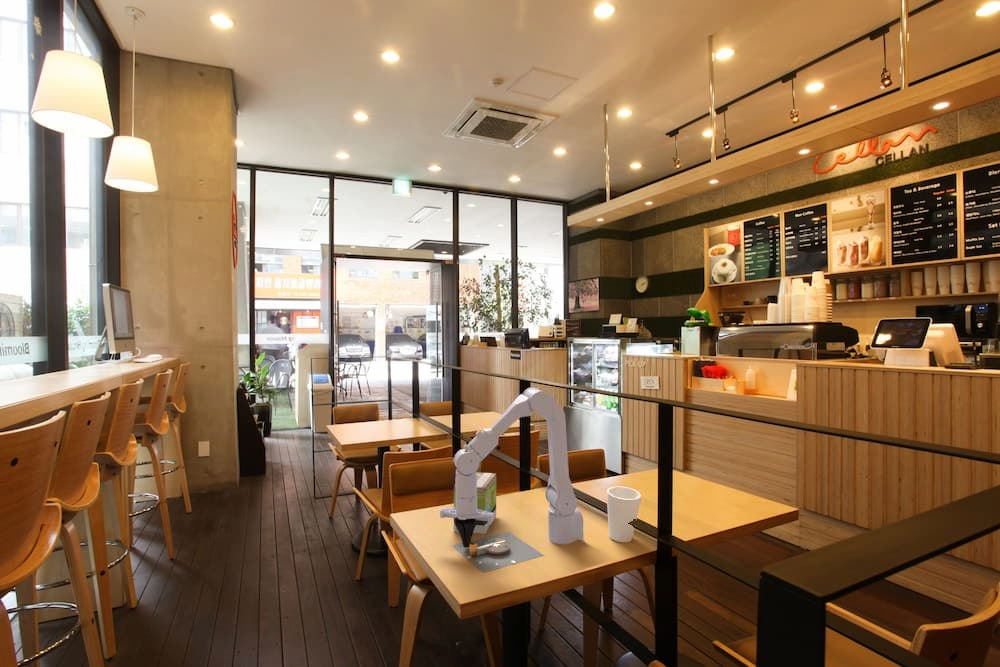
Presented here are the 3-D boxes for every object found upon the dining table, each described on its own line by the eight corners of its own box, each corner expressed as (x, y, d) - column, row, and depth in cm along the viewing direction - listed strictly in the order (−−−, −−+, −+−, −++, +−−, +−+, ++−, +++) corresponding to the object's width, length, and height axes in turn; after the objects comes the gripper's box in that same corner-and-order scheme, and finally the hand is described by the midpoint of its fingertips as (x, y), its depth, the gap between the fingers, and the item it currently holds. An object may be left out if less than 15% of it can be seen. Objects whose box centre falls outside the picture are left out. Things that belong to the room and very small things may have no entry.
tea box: (486, 538, 147) (485, 486, 147) (452, 535, 150) (452, 485, 149) (497, 518, 162) (496, 472, 162) (466, 516, 164) (465, 470, 164)
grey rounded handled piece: (501, 541, 141) (501, 530, 141) (515, 551, 135) (515, 539, 135) (464, 551, 136) (463, 539, 135) (476, 561, 129) (476, 549, 129)
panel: (508, 535, 149) (508, 530, 149) (544, 559, 133) (544, 554, 133) (452, 549, 140) (451, 544, 140) (483, 577, 124) (483, 571, 124)
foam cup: (629, 528, 152) (632, 486, 150) (643, 544, 143) (646, 499, 141) (598, 529, 150) (601, 486, 149) (611, 545, 141) (614, 500, 140)
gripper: (435, 498, 135) (436, 549, 135) (488, 502, 131) (488, 555, 132) (445, 489, 142) (445, 538, 142) (495, 493, 138) (496, 543, 138)
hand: (467, 545), depth 137 cm, fingers closed
